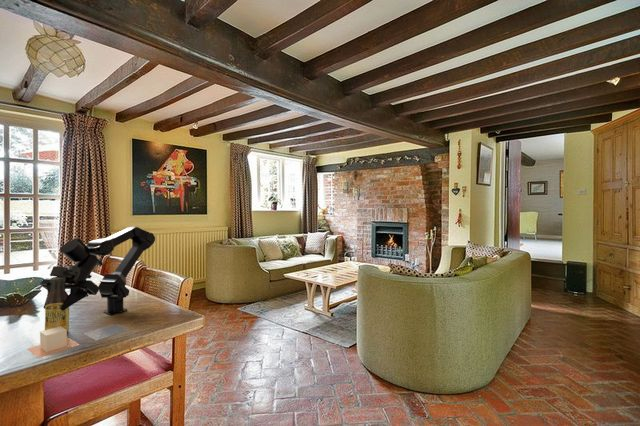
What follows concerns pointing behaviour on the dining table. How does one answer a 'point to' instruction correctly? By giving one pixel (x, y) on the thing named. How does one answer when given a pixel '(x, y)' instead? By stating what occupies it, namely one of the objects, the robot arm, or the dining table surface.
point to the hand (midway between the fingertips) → (53, 309)
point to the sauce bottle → (56, 305)
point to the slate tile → (105, 332)
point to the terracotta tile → (40, 352)
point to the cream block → (53, 339)
